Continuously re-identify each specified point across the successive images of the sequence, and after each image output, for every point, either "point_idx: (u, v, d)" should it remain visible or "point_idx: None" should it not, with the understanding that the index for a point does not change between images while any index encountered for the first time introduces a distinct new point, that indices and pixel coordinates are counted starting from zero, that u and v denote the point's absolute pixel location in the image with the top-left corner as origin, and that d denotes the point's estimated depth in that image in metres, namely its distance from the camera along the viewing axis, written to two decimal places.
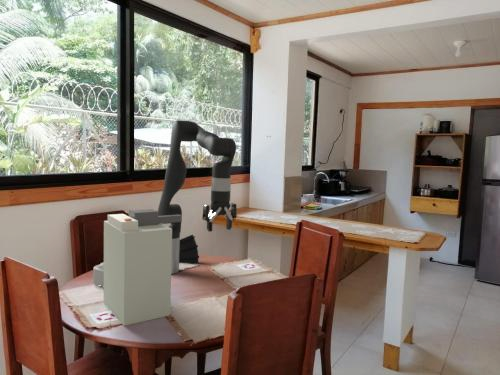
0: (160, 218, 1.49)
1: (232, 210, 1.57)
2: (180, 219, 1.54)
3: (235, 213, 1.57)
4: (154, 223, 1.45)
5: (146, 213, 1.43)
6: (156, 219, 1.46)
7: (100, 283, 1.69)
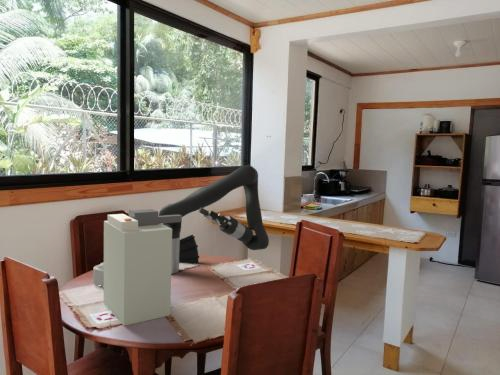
0: (160, 218, 1.49)
1: (211, 216, 1.72)
2: (180, 219, 1.54)
3: (207, 217, 1.72)
4: (154, 223, 1.45)
5: (146, 213, 1.43)
6: (156, 219, 1.46)
7: (100, 283, 1.69)
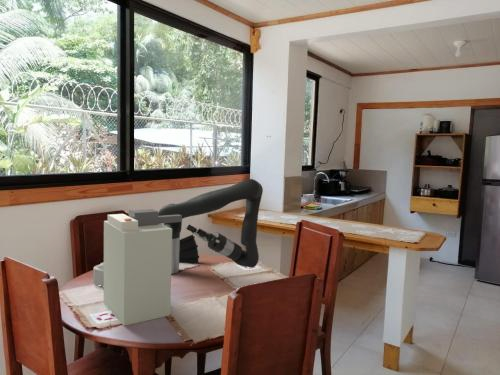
0: (160, 218, 1.49)
1: None
2: (180, 219, 1.54)
3: (195, 234, 1.67)
4: (154, 223, 1.45)
5: (146, 213, 1.43)
6: (156, 219, 1.46)
7: (100, 283, 1.69)
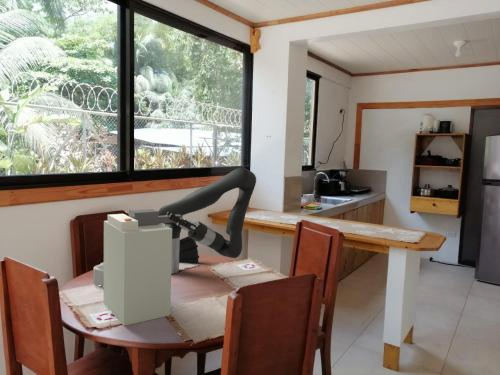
0: (160, 218, 1.49)
1: None
2: None
3: (174, 222, 1.58)
4: (154, 223, 1.45)
5: (146, 213, 1.43)
6: (156, 219, 1.46)
7: (100, 283, 1.69)
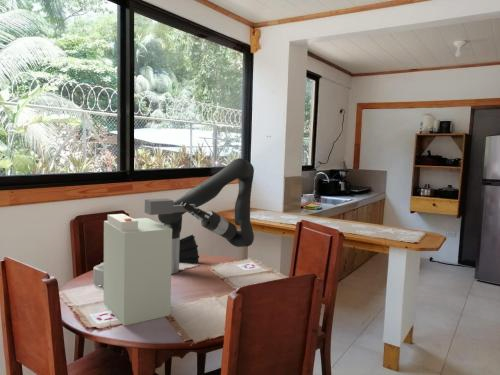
0: (175, 207, 1.52)
1: None
2: None
3: (188, 212, 1.62)
4: (169, 212, 1.49)
5: (162, 202, 1.46)
6: (171, 208, 1.49)
7: (100, 283, 1.69)
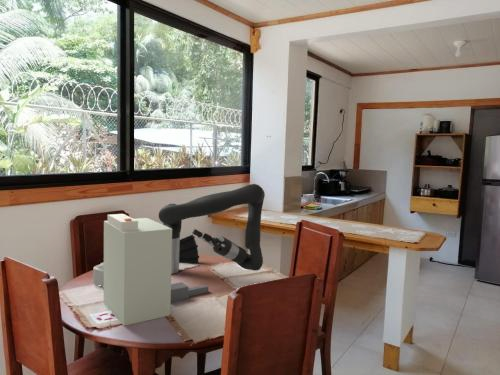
0: (189, 291, 1.62)
1: None
2: (207, 290, 1.67)
3: (201, 238, 1.71)
4: (185, 297, 1.59)
5: (178, 289, 1.56)
6: (186, 293, 1.59)
7: (100, 283, 1.69)
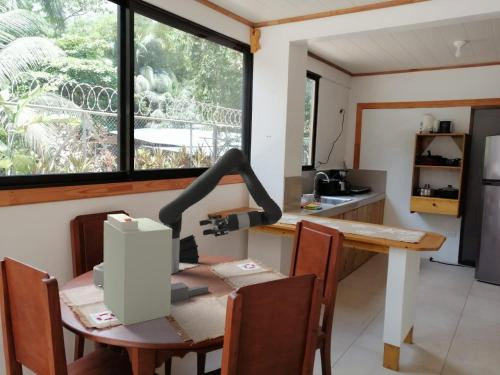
0: (189, 291, 1.62)
1: None
2: (207, 290, 1.67)
3: None
4: (185, 297, 1.59)
5: (178, 289, 1.56)
6: (186, 293, 1.59)
7: (100, 283, 1.69)
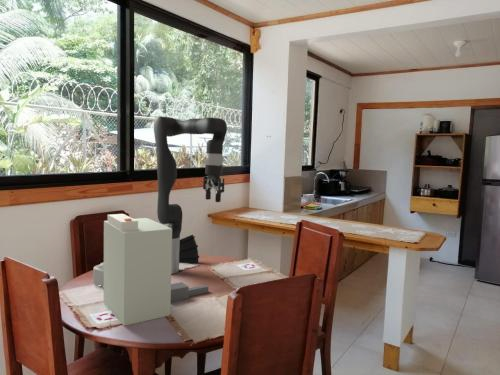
0: (189, 291, 1.62)
1: (207, 182, 1.77)
2: (207, 290, 1.67)
3: None
4: (185, 297, 1.59)
5: (178, 289, 1.56)
6: (186, 293, 1.59)
7: (100, 283, 1.69)
